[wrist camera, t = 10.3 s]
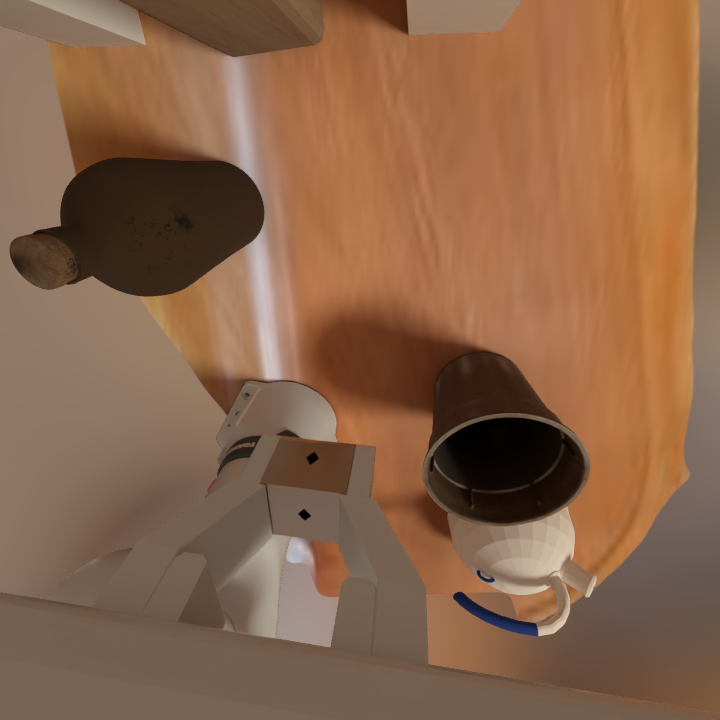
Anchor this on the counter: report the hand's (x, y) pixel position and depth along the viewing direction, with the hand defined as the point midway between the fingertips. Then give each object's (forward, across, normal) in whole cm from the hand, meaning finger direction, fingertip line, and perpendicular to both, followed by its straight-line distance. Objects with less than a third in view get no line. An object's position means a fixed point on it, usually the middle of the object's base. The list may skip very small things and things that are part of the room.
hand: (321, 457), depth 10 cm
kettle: (+37, -24, +48) cm, 65 cm away
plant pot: (+37, -14, +21) cm, 45 cm away
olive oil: (+37, +20, -1) cm, 42 cm away
